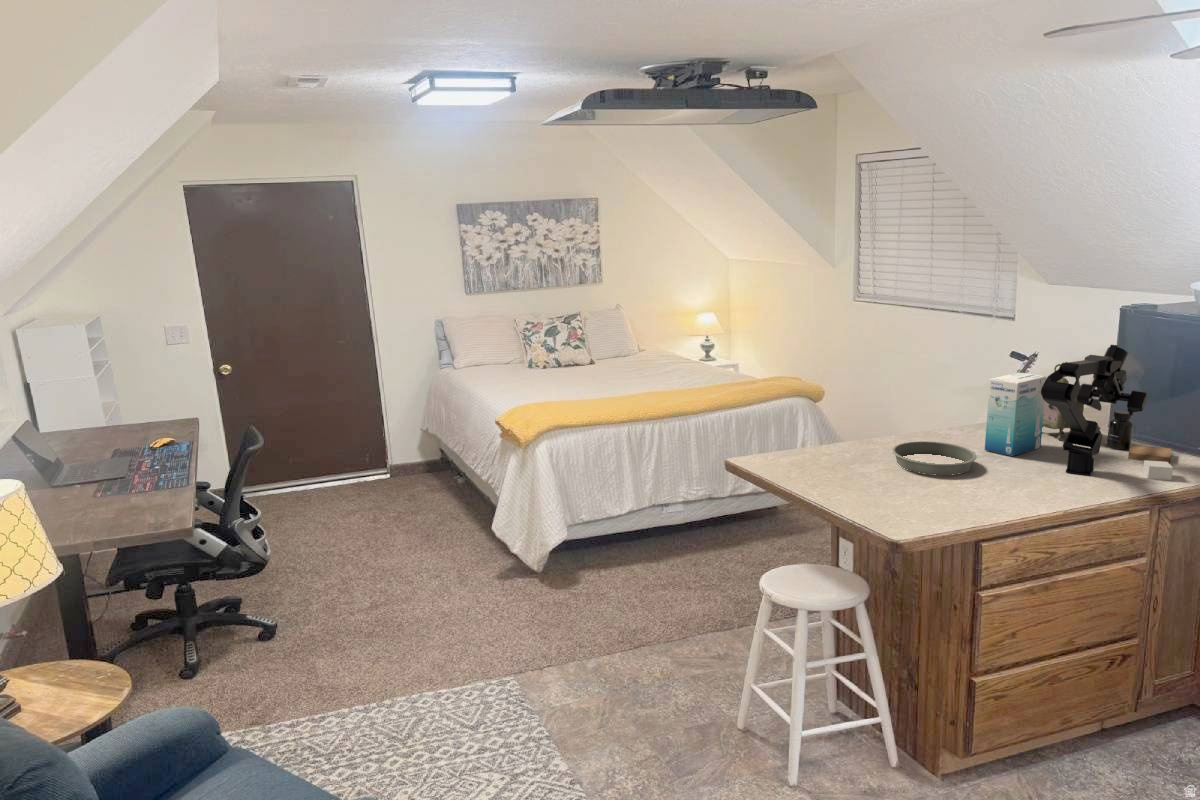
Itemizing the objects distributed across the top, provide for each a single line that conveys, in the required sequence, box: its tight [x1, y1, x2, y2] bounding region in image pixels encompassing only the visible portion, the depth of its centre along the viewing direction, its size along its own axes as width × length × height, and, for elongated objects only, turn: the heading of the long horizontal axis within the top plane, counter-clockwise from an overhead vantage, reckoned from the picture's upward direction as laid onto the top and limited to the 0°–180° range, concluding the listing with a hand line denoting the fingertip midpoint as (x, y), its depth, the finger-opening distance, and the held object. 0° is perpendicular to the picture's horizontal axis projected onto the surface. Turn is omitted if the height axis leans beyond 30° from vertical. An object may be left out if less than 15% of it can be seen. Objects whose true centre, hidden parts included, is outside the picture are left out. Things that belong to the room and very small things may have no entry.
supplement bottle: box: [1106, 409, 1134, 451], centre depth 290 cm, size 7×7×12 cm
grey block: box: [1142, 460, 1174, 481], centre depth 262 cm, size 6×6×4 cm
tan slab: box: [1127, 443, 1172, 465], centre depth 281 cm, size 11×11×2 cm
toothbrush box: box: [984, 372, 1047, 457], centre depth 290 cm, size 18×10×24 cm, turn 126°
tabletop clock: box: [1042, 363, 1085, 441], centre depth 304 cm, size 14×9×25 cm, turn 10°
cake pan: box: [891, 440, 978, 476], centre depth 278 cm, size 25×25×4 cm
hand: (1116, 411), depth 281 cm, fingers open, 9 cm apart
